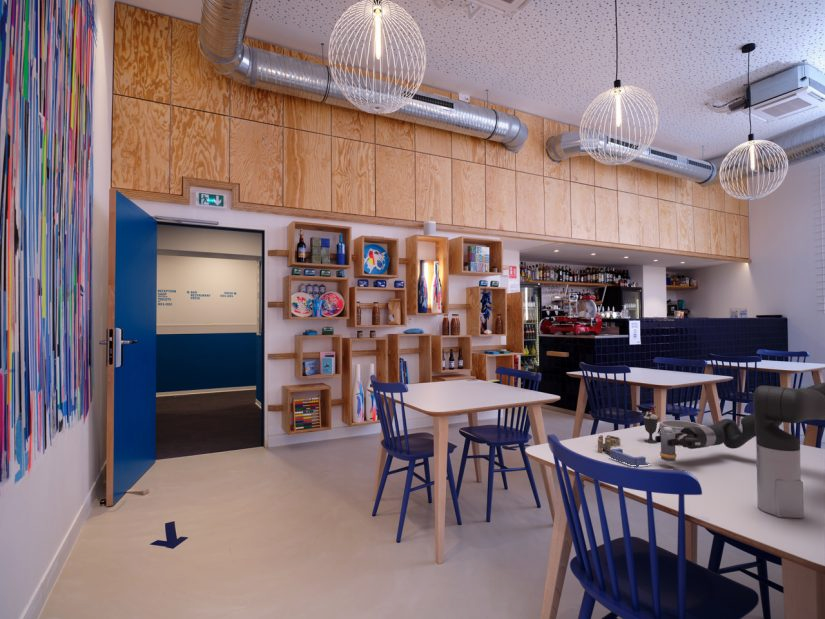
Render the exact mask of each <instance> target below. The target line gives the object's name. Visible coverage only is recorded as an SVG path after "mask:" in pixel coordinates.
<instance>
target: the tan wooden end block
mask: <svg viewBox="0 0 825 619" xmlns="http://www.w3.org/2000/svg"><path fill="white" fill-rule="evenodd" d="M608 436H609V437H611V444H612V445H611V447H613V446H615V447H614V448H617V447H619V445H620V446H621V437H619V436H614V435H609V434H608V435H606V436H605V437H604V443H606V438H607V437H608ZM616 446H617V447H616Z"/></svg>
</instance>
